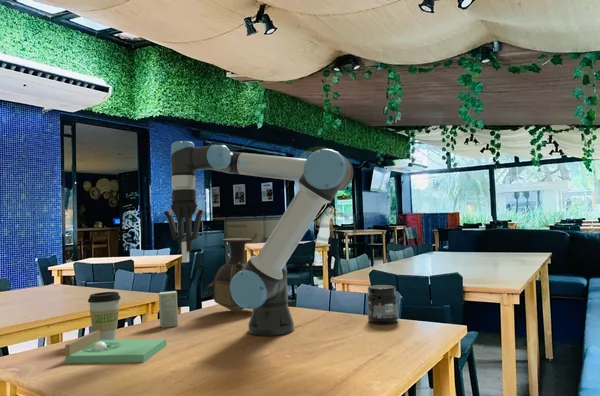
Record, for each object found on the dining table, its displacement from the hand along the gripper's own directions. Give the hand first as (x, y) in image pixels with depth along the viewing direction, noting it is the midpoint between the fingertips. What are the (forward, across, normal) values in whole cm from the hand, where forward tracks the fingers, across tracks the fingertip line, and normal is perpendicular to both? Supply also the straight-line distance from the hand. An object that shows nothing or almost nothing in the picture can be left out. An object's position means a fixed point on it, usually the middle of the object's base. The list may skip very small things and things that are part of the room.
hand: (185, 261), depth 145 cm
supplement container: (+25, -64, -18) cm, 71 cm away
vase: (+25, -8, -39) cm, 47 cm away
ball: (+23, +20, +16) cm, 34 cm away
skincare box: (+25, +13, -18) cm, 33 cm away
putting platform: (+24, +15, +16) cm, 33 cm away
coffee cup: (+25, +27, +1) cm, 37 cm away
